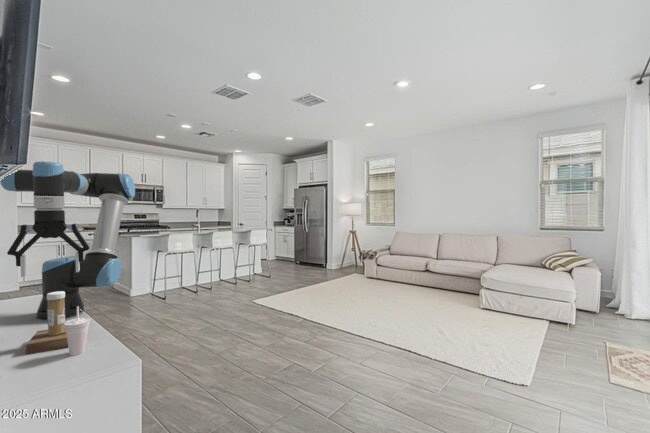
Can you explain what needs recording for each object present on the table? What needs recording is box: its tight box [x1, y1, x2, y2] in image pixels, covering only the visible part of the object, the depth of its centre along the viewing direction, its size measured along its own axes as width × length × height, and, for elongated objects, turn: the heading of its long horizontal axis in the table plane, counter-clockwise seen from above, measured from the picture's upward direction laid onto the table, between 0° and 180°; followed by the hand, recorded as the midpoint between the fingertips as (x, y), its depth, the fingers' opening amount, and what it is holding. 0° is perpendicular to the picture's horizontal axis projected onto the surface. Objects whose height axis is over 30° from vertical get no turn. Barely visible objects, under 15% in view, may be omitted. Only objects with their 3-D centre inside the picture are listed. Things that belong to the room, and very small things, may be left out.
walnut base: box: [25, 329, 68, 355], centre depth 102 cm, size 12×12×3 cm
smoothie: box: [63, 306, 91, 357], centre depth 95 cm, size 6×6×14 cm
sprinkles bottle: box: [47, 291, 66, 336], centre depth 102 cm, size 5×5×14 cm
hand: (51, 273), depth 103 cm, fingers open, 13 cm apart
